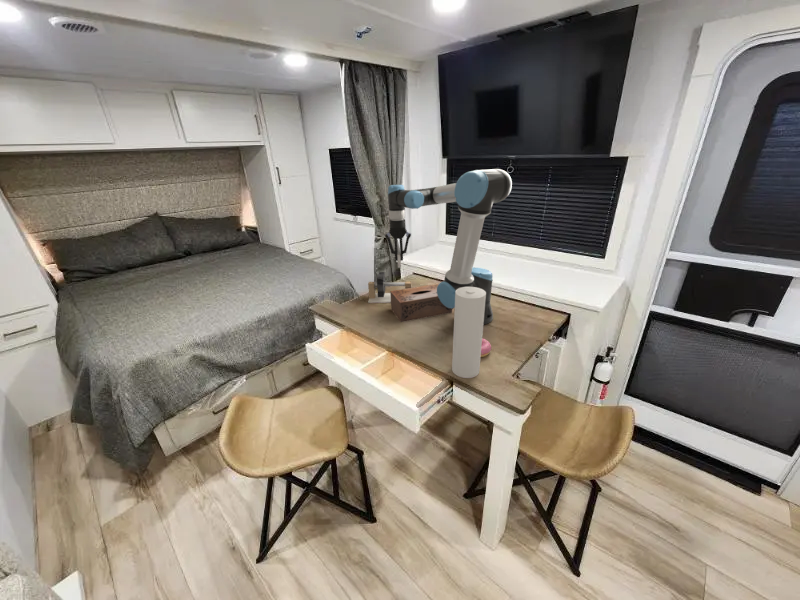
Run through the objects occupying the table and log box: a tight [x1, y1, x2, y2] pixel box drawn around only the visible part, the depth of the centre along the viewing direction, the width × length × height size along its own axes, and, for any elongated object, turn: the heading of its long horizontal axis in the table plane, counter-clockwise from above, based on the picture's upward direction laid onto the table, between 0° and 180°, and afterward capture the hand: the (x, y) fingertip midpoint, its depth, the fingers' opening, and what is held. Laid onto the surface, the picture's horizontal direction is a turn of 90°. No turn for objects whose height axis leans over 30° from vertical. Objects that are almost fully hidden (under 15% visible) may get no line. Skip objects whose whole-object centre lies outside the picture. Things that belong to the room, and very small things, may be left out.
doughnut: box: [480, 337, 492, 358], centre depth 125 cm, size 11×11×4 cm
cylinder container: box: [451, 287, 486, 379], centre depth 109 cm, size 9×9×30 cm
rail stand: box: [367, 281, 412, 304], centre depth 172 cm, size 11×22×9 cm, turn 87°
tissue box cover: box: [389, 283, 453, 323], centre depth 157 cm, size 26×14×10 cm, turn 109°
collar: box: [376, 271, 386, 297], centre depth 170 cm, size 10×3×10 cm, turn 177°
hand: (399, 266), depth 166 cm, fingers closed
